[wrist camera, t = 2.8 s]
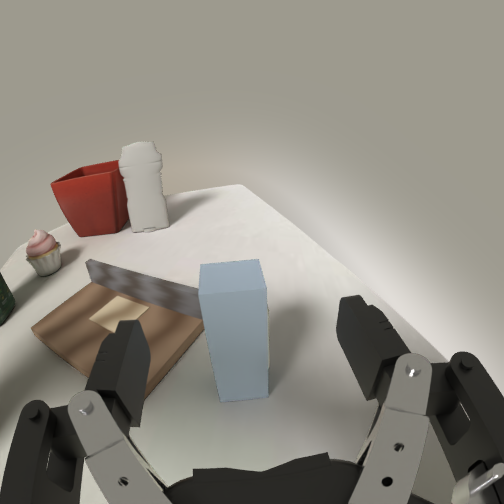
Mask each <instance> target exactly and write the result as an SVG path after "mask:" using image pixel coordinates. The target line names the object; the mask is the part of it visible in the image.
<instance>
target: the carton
mask: <svg viewBox="0 0 504 504" xmlns="http://www.w3.org/2000/svg"><path fill="white" fill-rule="evenodd" d="M198 296H199V302H200V307H201V313H202V318H203V323H204V328H205V333H206V338H207V343H208V348H209V353H210V358H211V363H212V367H213V372H214V376H215V381H216V385H217V390H218V394H219V398H220V402H229V401H240V400H250V399H259V398H267V397H268V368H269V367H270V356H269V309H268V305H267V287H266V284H265V280H264V276H263V273H262V269H261V266H260V262H259V259H253V260H243V261H232V262H221V263H210V264H201V265H200V278H199V291H198Z"/></svg>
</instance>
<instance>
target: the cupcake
mask: <svg viewBox="0 0 504 504" xmlns="http://www.w3.org/2000/svg"><path fill="white" fill-rule="evenodd" d="M60 248H61V245H60V243H59V242H56V241H55V238H54V237H53V236H52V235H50V234H48V233H47V232H45V231H44V230H37V229H35V232H34V236H32V237H31V238H30V239H29V243H28V246H27V248H26V253H27V255H26V257H27V259H26V260H27V261H28V262H29V263H30V264H31V265H32V266H33V268H34V269H35V271H36V272H37V274H38V275H40V276H47V275H50V274H52V273H54V272H56V271H57V270H58V269H59V268H60V266H61V259H60Z"/></svg>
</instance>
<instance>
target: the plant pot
mask: <svg viewBox="0 0 504 504" xmlns="http://www.w3.org/2000/svg"><path fill="white" fill-rule="evenodd" d="M118 161H119V160H116V161H110V162H105V163H100V164H95V165H90V166H85V167H81V168H78V169H76V170H74V171H72V172H70V173H69V174H67V175H65V176H63V177H61V178H59V179H58V180H56V181H54V182H52V183H51V187H52V190H53V193H54V195H55V197H56V200H57V202H58V203H59V206H60V208H61V210H62V212H63V213H64V215H65V217H66V218H67V220H68V222H69V223H70V225H71V226H72V228H73V229H74V231H75V232H76V233H77V234H78V236H79V237H85V236H93V235H103V234H111V233H117V232H119V231H120V230H121V228H122V227H123V226H124V224H125V223H126V222H127V220H128V219H129V213H128V208H127V202H128V198H127V194H126V193H127V192H126V189H125V184H124V181H123V179H124V177H123V176H122V175H121V174H120V170H119V163H118Z"/></svg>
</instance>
